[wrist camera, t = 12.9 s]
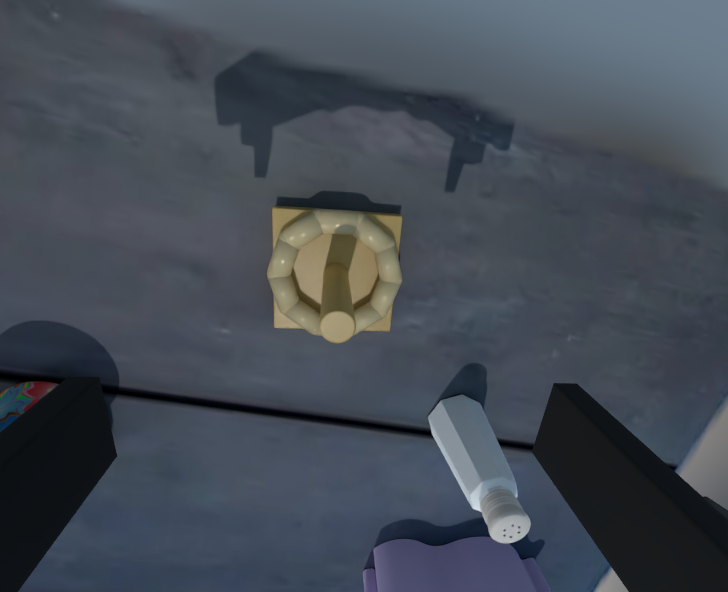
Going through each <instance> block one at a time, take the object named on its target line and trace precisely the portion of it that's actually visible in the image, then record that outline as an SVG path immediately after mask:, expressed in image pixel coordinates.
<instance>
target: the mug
mask: <svg viewBox="0 0 728 592" xmlns="http://www.w3.org/2000/svg"><path fill="white" fill-rule="evenodd" d="M57 385H59V384H56V383H51V382H39V381H34V382H24V383H20V384H17V385H14V386H11V387H9V388H7V389H5V390H3V391H2V392H1V393H0V432H1V431H2V430H3V429H5V428H6V427H7V426H8V425H9V424H11V423H12V422H13V421H14V420H16V419H17V418H18V417H19V416H21V415H22V414H23V413H24V412H25V411H27V410H28V409H29V408H30V407H32V406H33V405H34V404H35V403H37V402H38V401H39V400H40V399H41V398H43V397H44V396H45V395H46V394H48V393H49V392H50V391H51V390H53V389H54V388H55V387H56V386H57Z"/></svg>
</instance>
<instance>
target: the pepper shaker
mask: <svg viewBox="0 0 728 592" xmlns="http://www.w3.org/2000/svg"><path fill="white" fill-rule="evenodd" d="M428 418H429V423H430V427H431V431H432V435H433V437H434V438H435V440H436V442H437V444H438V446H439V448H440V450H441V451H442V453H443V455H444V457H445V459H446V461H447V463H448V464H449V466H450V468H451V470H452V472H453V474H454V476H455V478H456V479H457V481H458V483H459V485H460V487H461V489H462V491H463V492H464V494H465V496H466V498H467V500H468V501H469V503H470V505H471V506H472V508H473V509H475V510H478V511H480V512H482V514H483V517H484V520H485V522H486V524H487V525H488V531H489V534H490V536H491V538H492V539H494V540H495V541H497V542H499V543H505V544H506V543H513V542H516V541H518V540H520V539H522V538H523V537H524V536H525V535H526V534H527V533H528V531H529V530H530V525H531V522H530V519H529V517H528V515H527V514H526V513H525V512H524V511H523V508H522V507H521V505H520V503H519V501H518V500H517V499H516V498H517V497H518V495H517V486H516V482H515V479H514V476H513V474H512V472H511V469H510V467H509V465H508V463H507V461H506V459H505V456H504V454H503V452H502V450H501V448H500V445H499V443H498V441H497V439H496V437H495V435H494V432H493V430H492V428H491V426H490V424H489V421H488V419H487V417H486V415H485V413H484V411H483V408H482V406H481V404H480V403H479V402H477V401H475V400H473V399H471V398H469V397H467V396H464V395H458V396H454V397H451V398H447V399H443V400H441V401H440V402H439V403H438V405H437V406H436V407H435V408H434V410H433V411H432V412H431V414H430V415H429V416H428Z"/></svg>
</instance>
